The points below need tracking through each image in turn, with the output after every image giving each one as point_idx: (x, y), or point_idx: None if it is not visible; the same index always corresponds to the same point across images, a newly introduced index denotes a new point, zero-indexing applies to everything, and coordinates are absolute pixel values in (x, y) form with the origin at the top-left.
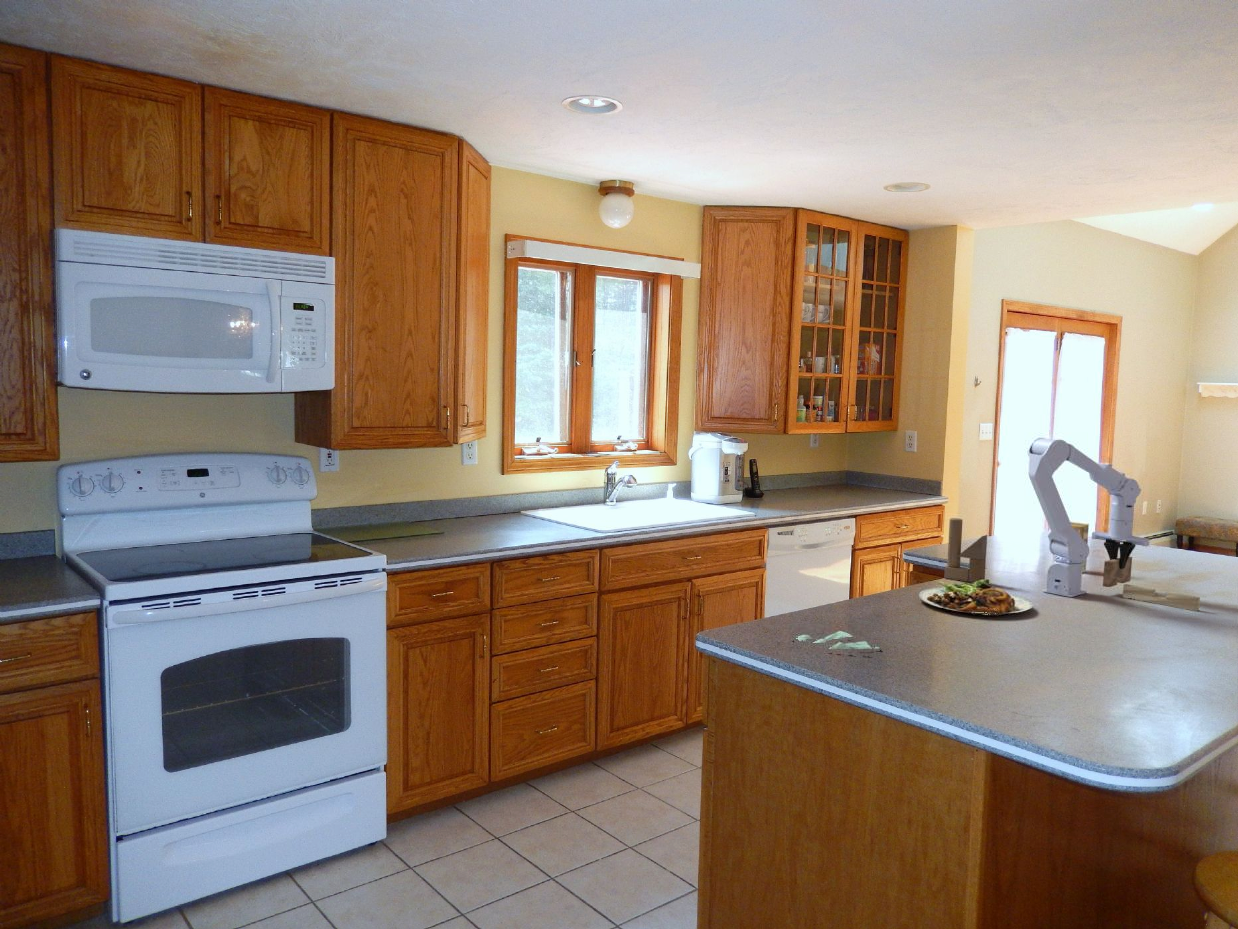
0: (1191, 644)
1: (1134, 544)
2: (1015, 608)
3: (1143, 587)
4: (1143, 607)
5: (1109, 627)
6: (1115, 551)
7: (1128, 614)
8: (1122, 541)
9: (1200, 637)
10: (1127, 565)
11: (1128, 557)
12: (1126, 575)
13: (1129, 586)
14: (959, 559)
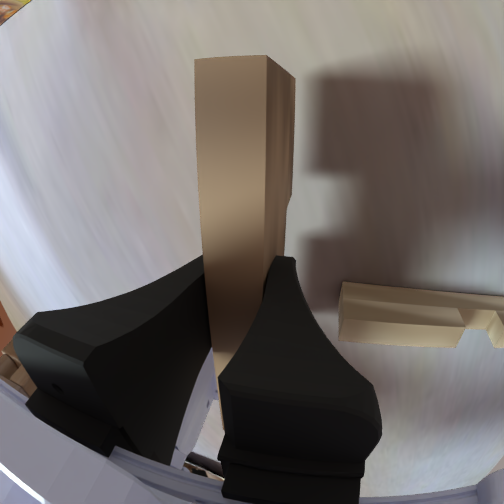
0: (457, 480)
1: (357, 423)
2: (222, 479)
3: (422, 329)
4: (416, 380)
5: (361, 488)
6: (177, 365)
7: (383, 442)
8: (209, 501)
9: (478, 460)
10: (278, 162)
11: (306, 307)
12: (288, 150)
13: (365, 340)
14: (8, 377)
